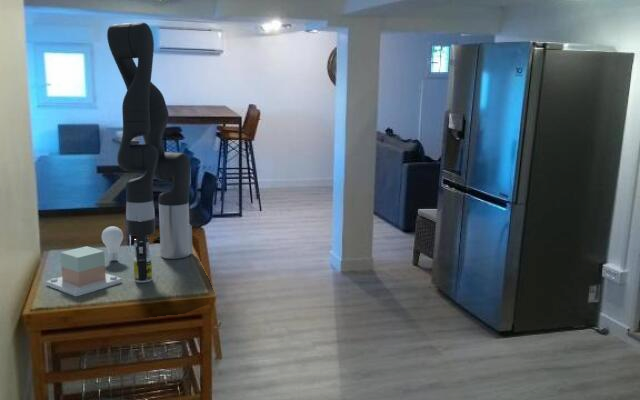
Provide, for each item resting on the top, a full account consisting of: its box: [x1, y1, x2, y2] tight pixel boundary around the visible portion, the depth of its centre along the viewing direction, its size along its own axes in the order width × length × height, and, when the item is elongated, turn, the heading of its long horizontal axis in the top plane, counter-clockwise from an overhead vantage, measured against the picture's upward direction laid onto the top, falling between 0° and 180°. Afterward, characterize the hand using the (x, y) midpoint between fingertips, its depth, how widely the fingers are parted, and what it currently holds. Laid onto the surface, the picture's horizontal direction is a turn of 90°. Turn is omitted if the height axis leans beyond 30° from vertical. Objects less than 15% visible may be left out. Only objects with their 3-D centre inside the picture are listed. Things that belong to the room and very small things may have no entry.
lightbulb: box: [101, 225, 124, 262], centre depth 186 cm, size 6×6×11 cm
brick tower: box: [45, 245, 123, 297], centre depth 165 cm, size 14×14×9 cm
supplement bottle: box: [133, 249, 153, 284], centre depth 169 cm, size 5×5×8 cm
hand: (143, 275), depth 169 cm, fingers closed on supplement bottle, 4 cm apart
